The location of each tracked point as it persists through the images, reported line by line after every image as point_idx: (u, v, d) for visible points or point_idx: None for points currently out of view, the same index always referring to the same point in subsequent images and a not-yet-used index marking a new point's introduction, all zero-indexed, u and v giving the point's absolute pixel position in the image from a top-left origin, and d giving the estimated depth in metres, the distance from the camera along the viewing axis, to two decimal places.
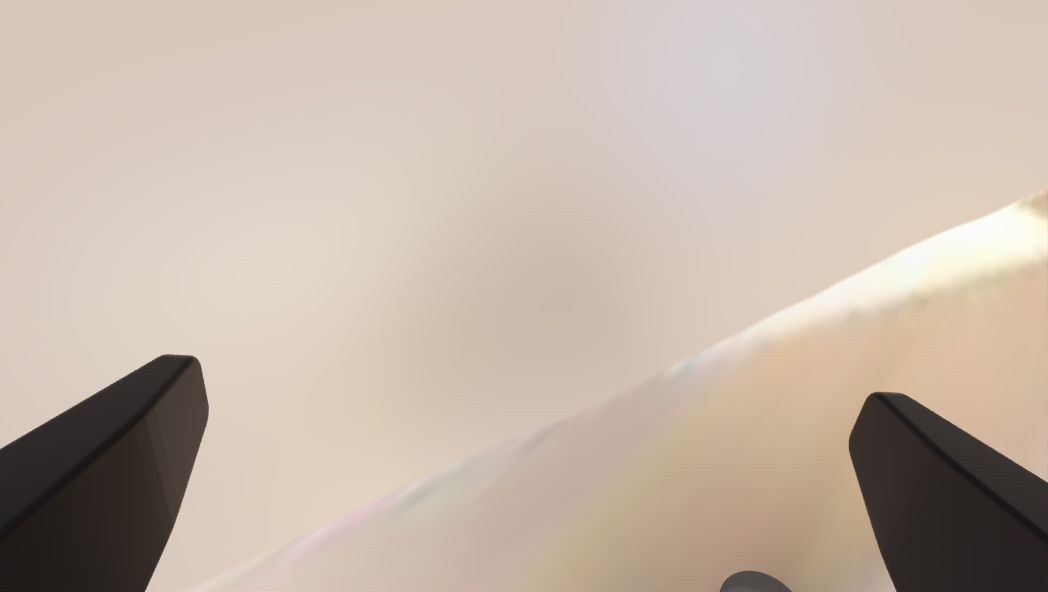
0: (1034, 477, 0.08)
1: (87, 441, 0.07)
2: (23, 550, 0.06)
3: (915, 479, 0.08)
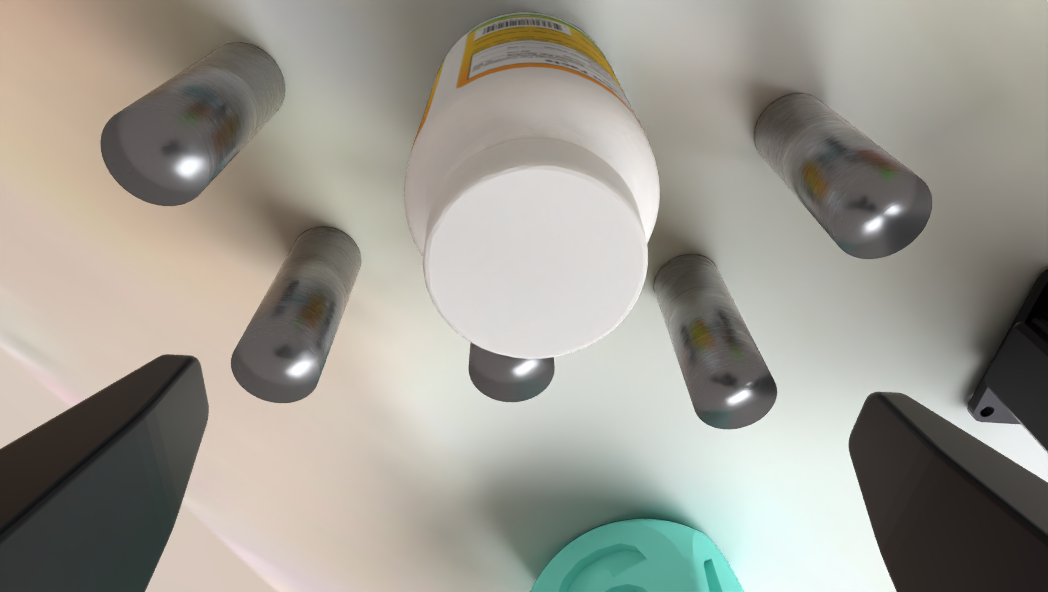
0: (1034, 477, 0.08)
1: (87, 441, 0.07)
2: (23, 550, 0.06)
3: (915, 479, 0.08)
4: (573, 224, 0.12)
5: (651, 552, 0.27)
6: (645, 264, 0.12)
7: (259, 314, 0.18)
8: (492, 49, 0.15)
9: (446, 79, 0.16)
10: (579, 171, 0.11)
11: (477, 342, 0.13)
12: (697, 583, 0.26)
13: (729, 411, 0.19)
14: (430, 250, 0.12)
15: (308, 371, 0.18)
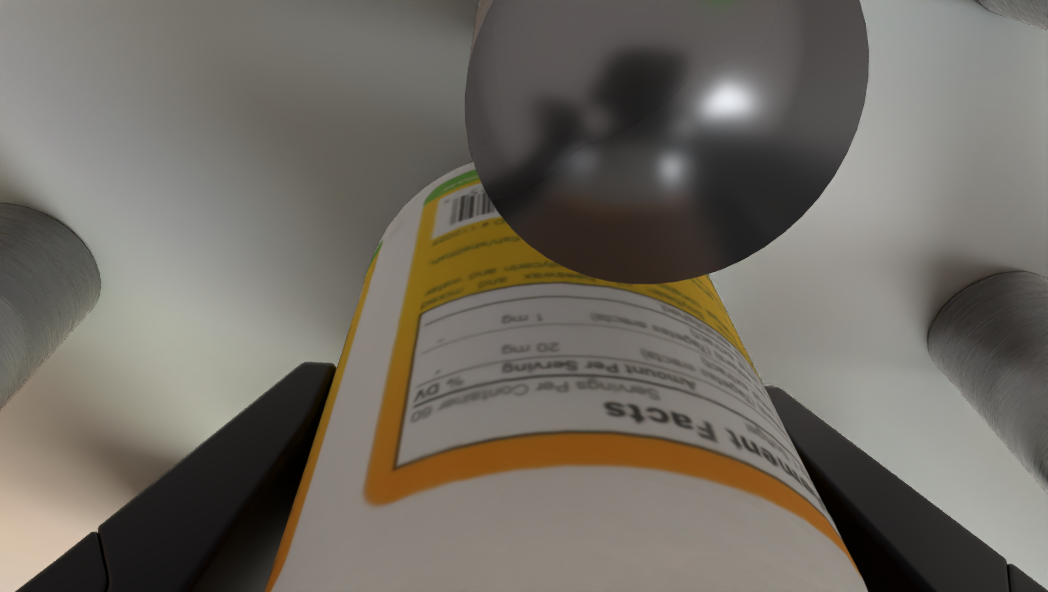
0: (883, 471, 0.08)
1: (266, 449, 0.07)
2: (232, 557, 0.06)
3: None
4: None
5: None
6: None
7: None
8: (466, 313, 0.07)
9: (361, 372, 0.07)
10: None
11: None
12: None
13: None
14: None
15: None
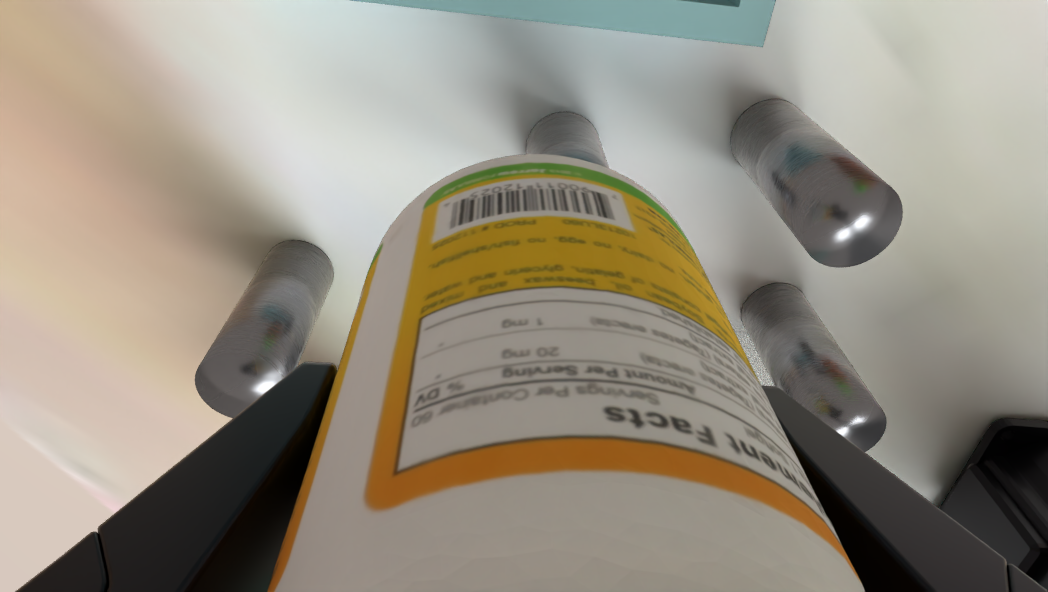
0: (882, 471, 0.08)
1: (266, 449, 0.07)
2: (232, 557, 0.06)
3: None
4: None
5: None
6: None
7: None
8: (466, 318, 0.07)
9: (362, 376, 0.07)
10: None
11: None
12: None
13: None
14: None
15: None
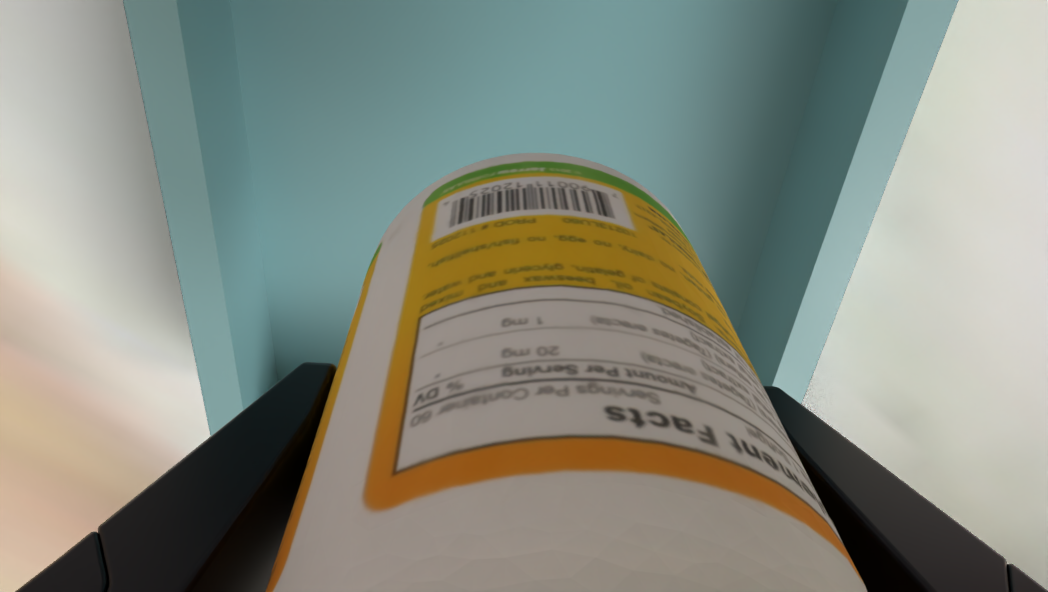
0: (883, 471, 0.08)
1: (266, 449, 0.07)
2: (232, 557, 0.06)
3: None
4: None
5: None
6: None
7: None
8: (466, 317, 0.07)
9: (361, 375, 0.07)
10: None
11: None
12: None
13: None
14: None
15: None
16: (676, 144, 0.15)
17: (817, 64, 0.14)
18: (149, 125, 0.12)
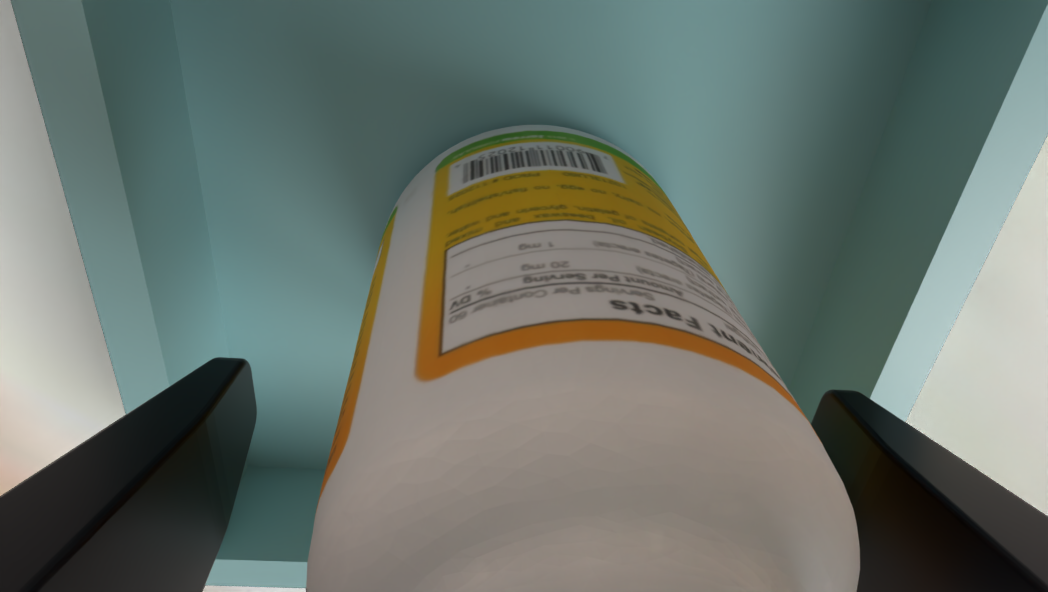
0: (981, 476, 0.08)
1: (153, 444, 0.07)
2: (100, 553, 0.06)
3: (865, 477, 0.08)
4: None
5: None
6: None
7: None
8: (487, 245, 0.08)
9: (396, 300, 0.08)
10: None
11: None
12: None
13: None
14: None
15: None
16: (715, 207, 0.12)
17: (888, 115, 0.12)
18: (69, 201, 0.10)
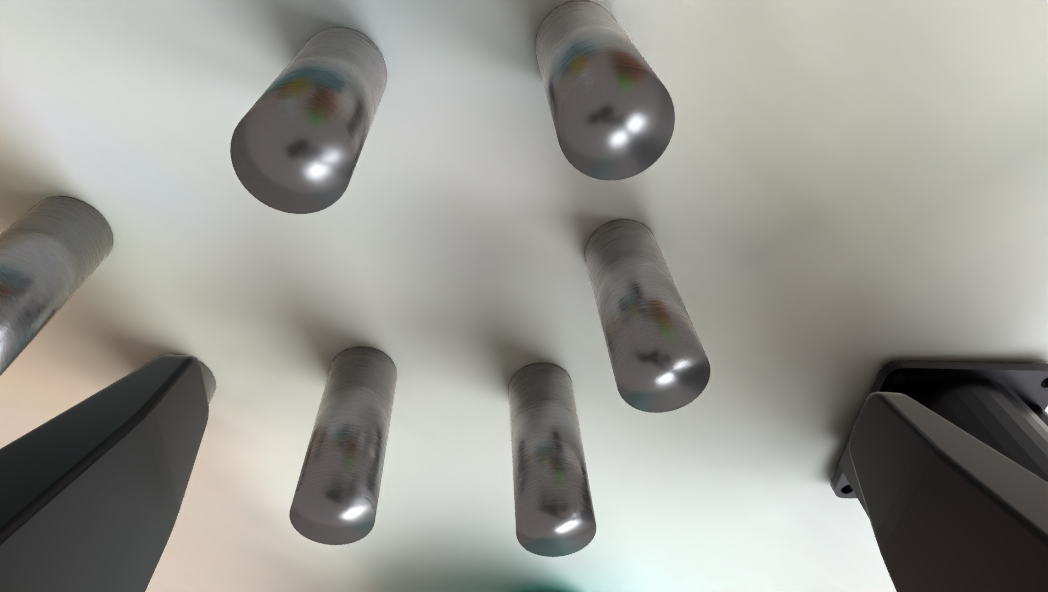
0: (1034, 477, 0.08)
1: (87, 441, 0.07)
2: (23, 550, 0.06)
3: (915, 479, 0.08)
4: None
5: None
6: None
7: None
8: None
9: None
10: None
11: None
12: None
13: (553, 542, 0.20)
14: None
15: None
16: None
17: None
18: None
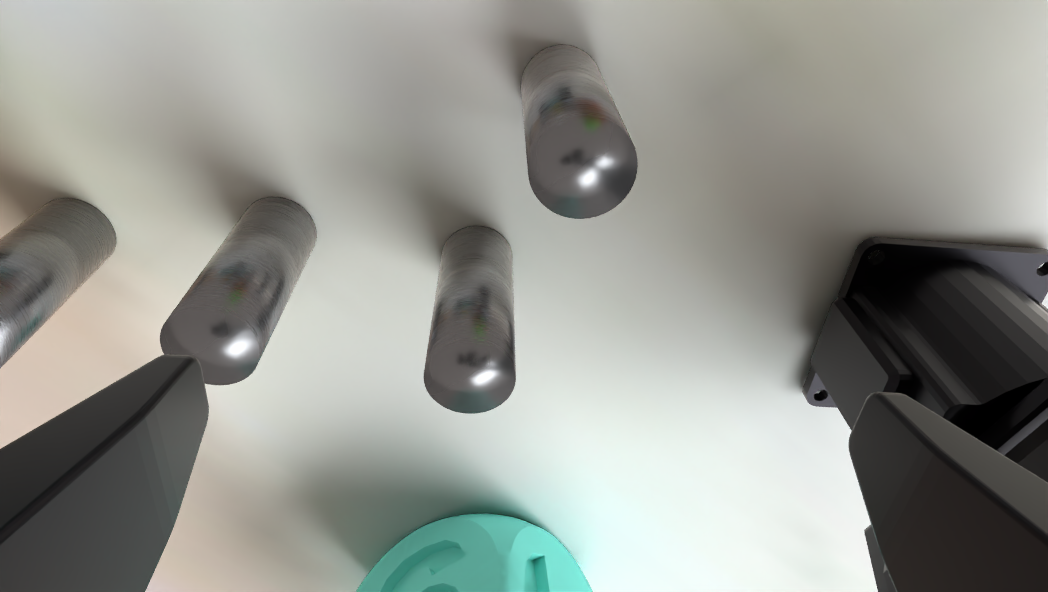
0: (1034, 477, 0.08)
1: (87, 441, 0.07)
2: (23, 550, 0.06)
3: (915, 479, 0.08)
4: None
5: (471, 548, 0.26)
6: None
7: None
8: None
9: None
10: None
11: None
12: (505, 582, 0.24)
13: (467, 393, 0.17)
14: None
15: None
16: None
17: None
18: None
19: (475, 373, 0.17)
